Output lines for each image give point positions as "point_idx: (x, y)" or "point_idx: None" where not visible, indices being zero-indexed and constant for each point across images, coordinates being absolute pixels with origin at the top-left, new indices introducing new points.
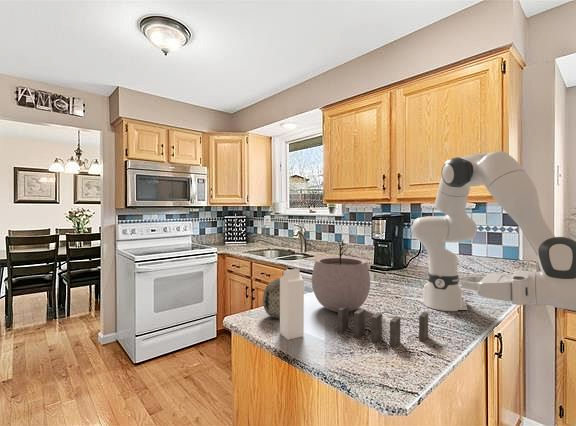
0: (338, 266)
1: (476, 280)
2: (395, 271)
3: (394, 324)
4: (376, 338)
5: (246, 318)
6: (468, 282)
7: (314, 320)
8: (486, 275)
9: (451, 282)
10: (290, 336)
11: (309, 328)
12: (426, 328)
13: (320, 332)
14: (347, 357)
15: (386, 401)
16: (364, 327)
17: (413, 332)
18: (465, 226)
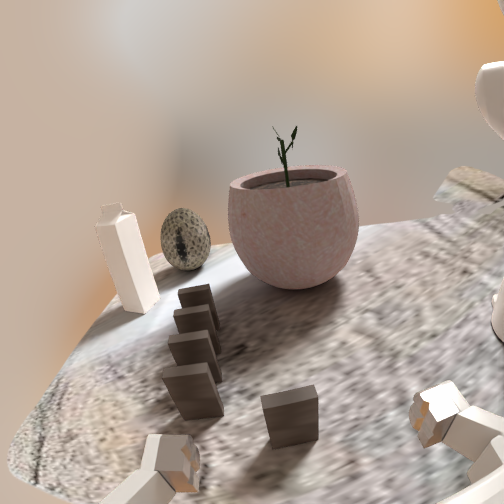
0: (235, 192)
1: (454, 435)
2: None
3: (164, 381)
4: None
5: (166, 259)
6: (135, 471)
7: (216, 289)
8: (495, 475)
9: None
10: (126, 307)
11: (179, 303)
12: (296, 428)
13: (173, 317)
14: (102, 380)
15: (11, 449)
16: (217, 343)
17: None
18: None
